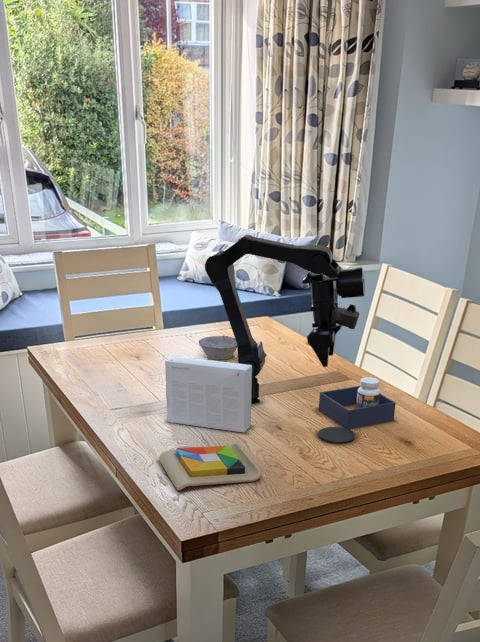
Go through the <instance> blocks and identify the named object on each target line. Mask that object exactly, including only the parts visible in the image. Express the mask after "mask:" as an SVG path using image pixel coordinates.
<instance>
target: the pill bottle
mask: <svg viewBox="0 0 480 642" xmlns="http://www.w3.org/2000/svg"><path fill="white" fill-rule="evenodd" d="M359 386H361V387H360V388H359V389H358V391H357V402H356V405H355V409H357V408H363V407H369V406H375V405H379V400H380V394H381V390H380V388H379V386H380V380H379V379H378V378H376V377H371V376H370V377H362V378H361V379H360V383H359Z"/></svg>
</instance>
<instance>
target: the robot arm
mask: <svg viewBox="0 0 480 642" xmlns="http://www.w3.org/2000/svg"><path fill="white" fill-rule="evenodd" d="M246 255H251V256H256V257H261V258H266V259H271V260H275V261H280V262H283V263H285V262H286V263H289V264H293V265H295V266H297V267H299V268H301V269H302V270H305V271H307V273H306V276H305V277H303V279H302V281H301V284H302V285H308V284H309V287H310V297H311V306H310V312H312V319H313V320H312V321H313V322H312V323H311V326H312V329H310V330H309V332H308V334H307V335H306V341H307V345H309V347H311V349H312V351H313V352H314V354H315V355H316V357H317V359H318V361H319V362H320V364H321V366H322V367H323V368H327V367H328V366H329V356H330V357H332V356H334V351H335V344H336V338H337V333H338V332H339V331H340V330H341V329H342V327H345V328H346V327H347V328H348V329H349V330H355V329H356V327H357V324H358V322H359V321H358V320H359V317H360V312H359V311H358V310H357V306H356V304H355V305H354V304H352V303H350V304H348V306H346V307H340V306H339V302H337V300H336V295H338V297H340V298H341V299H350V298H351V299H352V298H363V297H365V296H366V279H365V278H364V277H365V276H364V268H363V267H362V266H361V267H355V268H349V269H343V268H342V267H341V265H340V264H339V263H338V262H337V261H336V260H335V258H334V255H333V252H332V250H331V248H330V247H329V246H327V245H324V244H304V245H296V244H290V243H286V242H281V241H276V240H272V239H268V238H267V239H266V238H261V237H257V236H253V235H252V234H251V235H250V234H244V235H242V236H241V237H240V238H239V239H238V240H237V241H235V243H233V244H232V245H230V246H229V247H228V248H227V249H225V250H223V249H222V250H221V249H220V250H217V251H215V252H214V253H212V254H211V255H209V257H208V258H206V261H205V262H204V271H205V273H206V275H207V277H208V279H209V280H210V282H211V284H212V285H213V286H214V288H215V289H216V290H217V292H218V293H219V295H220V298H221V302H222V305H223V307H224V310H225V313H226V316H227V318H228V322H229V325H230V328H231V331H232V335H233V338H235V340H236V343H237V349H236V351H237V353H236V354H237V363H238V364H246V365H252V390H251V405H253V404H258V403H260V402H261V399H259V398H260V383H259V379H258V377H257V376H259V374H260V373H261V371H262V369H263V368H264V366H265V363H266V358H267V353H266V352H265V350H264V345H263V344H264V343H263V342H262V341H259V342H257V341H256V340H255V339H254V337H253V335H252V331H251V329H250V326H249V322H248V320H247V317H246V313H245V311H244V308H243V307H244V306H243V304H242V302H241V299H240V298H241V297H240V296H239V292H238V289H237V286H236V271H235V263H237V262H238V261H239V260H240V259H242V258H243V257H245V256H246ZM334 282H335V283H334ZM335 292H336V295H335Z"/></svg>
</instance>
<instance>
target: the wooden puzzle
mask: <svg viewBox="0 0 480 642" xmlns="http://www.w3.org/2000/svg"><path fill="white" fill-rule="evenodd" d="M158 459H159V460H158V461H159V463H160V464H161V466H162V468H163V469H164V471H165V472H166V474H167V476H168V478H169V479H170V481H171V483H172V484H173V485H174V487H175V489H176V490H177V491H182V490H183V489H185V488H187V487H197V486H210V485H221V484H234V483H236V484H237V483H247V482H255V481H258V480H259V479H260V478H261V477H262V471H261V469H260V467H259V466H258V465H257V464H256V463H255V461H254V460H253V458H251V457H250V455H249V454H248V453H247V452H246V451H245V450H244V448H242V446H241V445H240V444H239V443H238V442H233V443H232V444H231V445H228V444H227V445H211V446H185V447H183V446H182V447H181V446H180V447H177V448H176V449H168V450H164V451H162V452H161V453H160V454H159V457H158Z"/></svg>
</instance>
